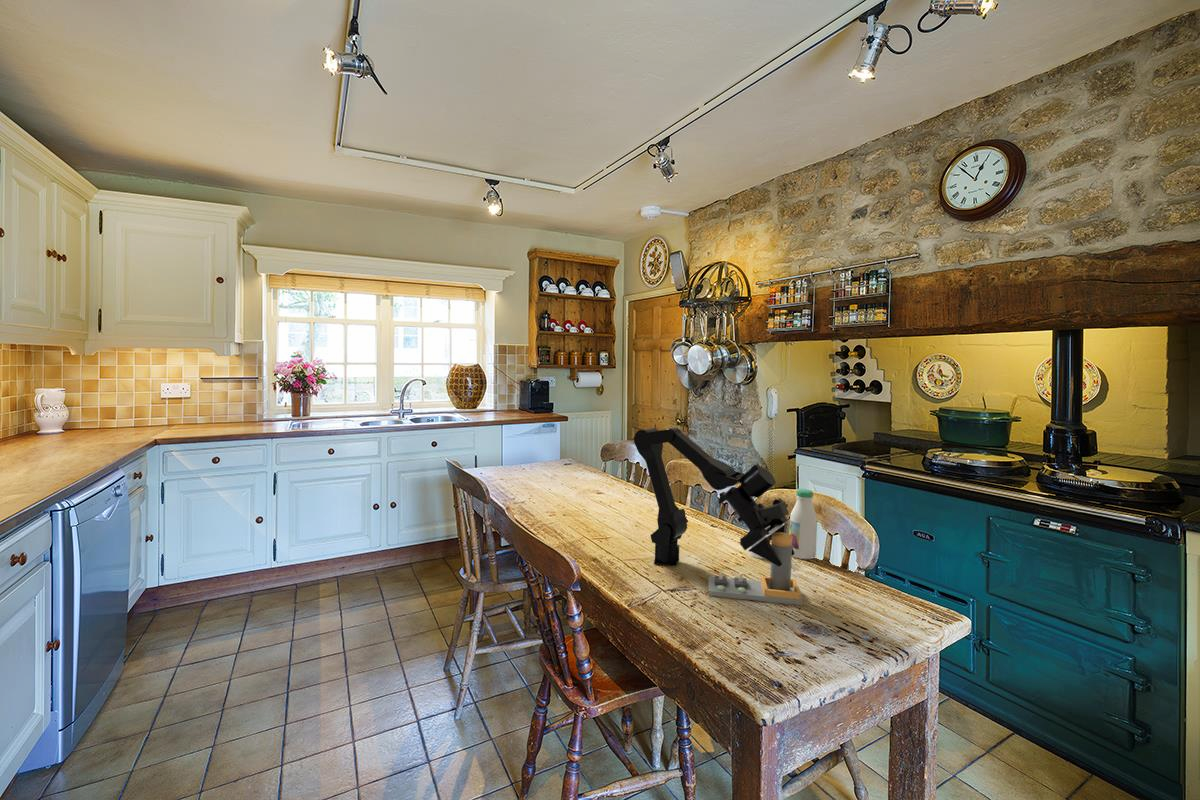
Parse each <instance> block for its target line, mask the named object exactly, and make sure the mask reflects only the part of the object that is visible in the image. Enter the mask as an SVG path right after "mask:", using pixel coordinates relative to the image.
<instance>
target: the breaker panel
mask: <svg viewBox="0 0 1200 800" xmlns="http://www.w3.org/2000/svg"><path fill="white" fill-rule="evenodd" d="M718 571H719V572H718V573H719V574H718V575H714V576H708V579H707V581H708V596H709V597H710V596H712V597H720V598H731V599H741V600H750V601H757V602H768V603H777V604H789V605H795V606H797V605H798V606H803V598H802V591H801V589H800V587H799V585H798V583H797V580H795V579H793V578H791V584H790V591H784V590H774V589H770V576H763V575H762V576H761V577H760V580H750V579H747V578H746V577H744V576H743V575H744V573H743V572H739V573H738V577H737V576H736V577H735V576H734V577H733V578H731V577H730V578H729V577H727V576H725V575H724V574H723V570H718Z"/></svg>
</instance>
